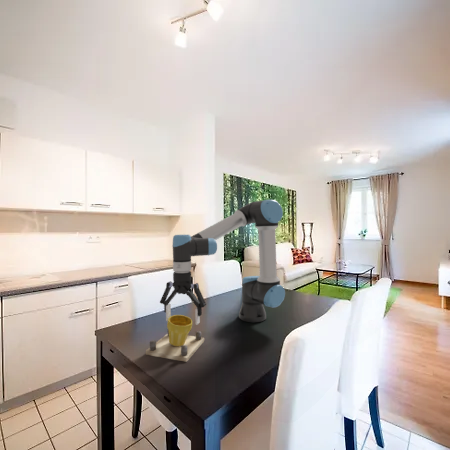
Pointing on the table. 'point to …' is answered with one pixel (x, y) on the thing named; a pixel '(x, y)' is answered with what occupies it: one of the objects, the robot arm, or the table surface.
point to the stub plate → (175, 348)
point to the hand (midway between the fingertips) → (182, 321)
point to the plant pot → (178, 329)
